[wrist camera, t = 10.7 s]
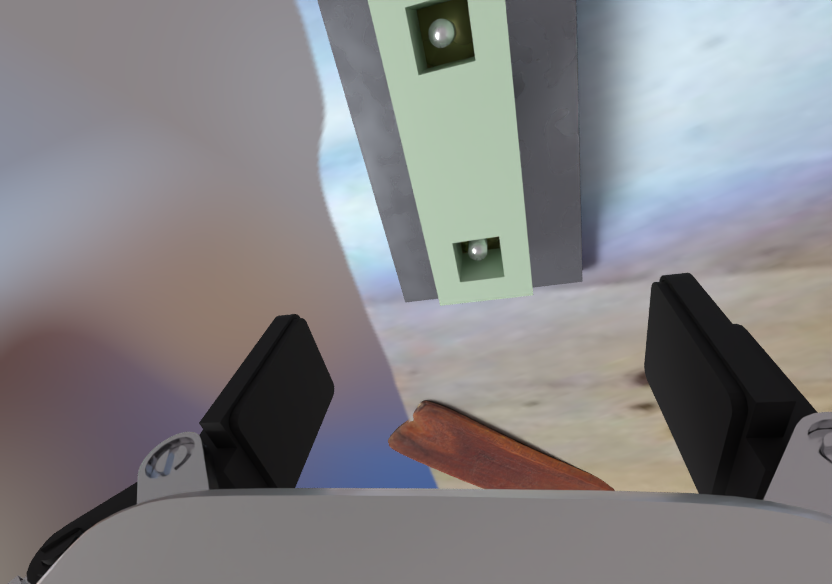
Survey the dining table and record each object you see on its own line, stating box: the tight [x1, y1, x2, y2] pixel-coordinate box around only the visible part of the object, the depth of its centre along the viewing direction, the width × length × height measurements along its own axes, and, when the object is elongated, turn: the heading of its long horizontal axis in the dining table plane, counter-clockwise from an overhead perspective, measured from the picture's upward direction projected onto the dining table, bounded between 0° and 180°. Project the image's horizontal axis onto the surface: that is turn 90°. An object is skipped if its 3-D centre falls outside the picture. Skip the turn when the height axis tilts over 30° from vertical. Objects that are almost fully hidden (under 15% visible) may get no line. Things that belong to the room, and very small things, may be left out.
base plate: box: [318, 0, 582, 302], centre depth 25 cm, size 14×24×6 cm, turn 13°
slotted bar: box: [368, 0, 533, 306], centre depth 24 cm, size 6×18×4 cm, turn 13°
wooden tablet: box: [388, 401, 615, 491], centre depth 47 cm, size 27×10×2 cm, turn 63°
